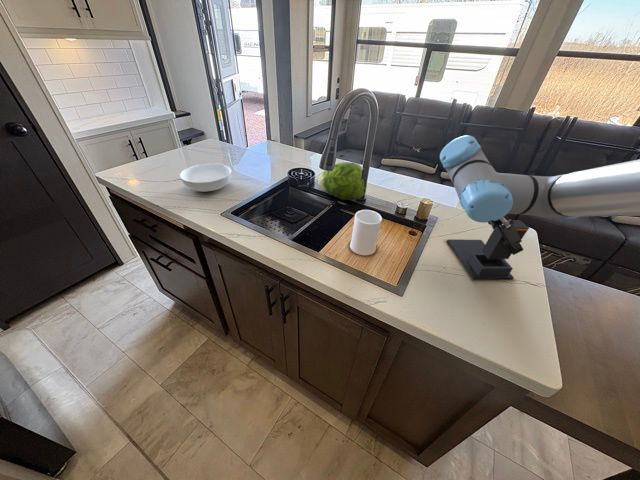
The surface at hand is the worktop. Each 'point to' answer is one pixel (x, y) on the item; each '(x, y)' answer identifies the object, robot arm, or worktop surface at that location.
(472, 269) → the base pad
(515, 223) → the black orange-striped block
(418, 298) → the worktop surface
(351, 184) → the lettuce
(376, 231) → the mug
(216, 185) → the serving bowl
